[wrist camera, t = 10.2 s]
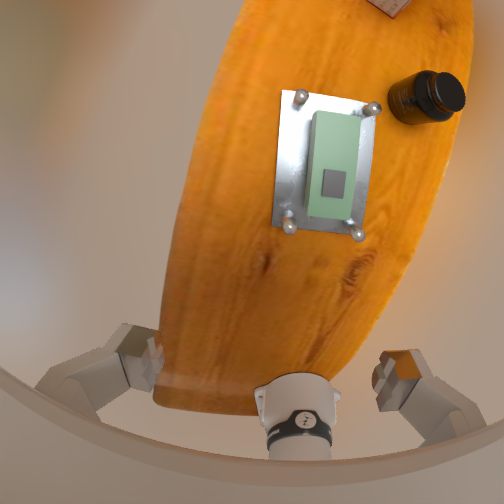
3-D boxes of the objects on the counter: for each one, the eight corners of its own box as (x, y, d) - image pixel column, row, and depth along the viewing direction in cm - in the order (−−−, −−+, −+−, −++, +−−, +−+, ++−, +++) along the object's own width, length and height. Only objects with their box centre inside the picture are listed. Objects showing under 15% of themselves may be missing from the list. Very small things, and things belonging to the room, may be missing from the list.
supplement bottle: (421, 132, 32) (467, 131, 21) (382, 113, 32) (422, 104, 21) (429, 93, 29) (474, 82, 18) (391, 74, 29) (429, 53, 18)
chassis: (358, 233, 39) (372, 250, 32) (271, 223, 39) (270, 240, 33) (373, 106, 31) (392, 99, 25) (282, 92, 32) (282, 79, 26)
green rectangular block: (312, 114, 30) (318, 108, 25) (351, 120, 30) (363, 116, 25) (303, 207, 34) (307, 217, 30) (341, 211, 34) (350, 222, 29)
